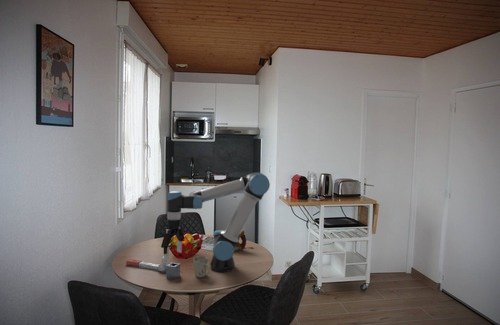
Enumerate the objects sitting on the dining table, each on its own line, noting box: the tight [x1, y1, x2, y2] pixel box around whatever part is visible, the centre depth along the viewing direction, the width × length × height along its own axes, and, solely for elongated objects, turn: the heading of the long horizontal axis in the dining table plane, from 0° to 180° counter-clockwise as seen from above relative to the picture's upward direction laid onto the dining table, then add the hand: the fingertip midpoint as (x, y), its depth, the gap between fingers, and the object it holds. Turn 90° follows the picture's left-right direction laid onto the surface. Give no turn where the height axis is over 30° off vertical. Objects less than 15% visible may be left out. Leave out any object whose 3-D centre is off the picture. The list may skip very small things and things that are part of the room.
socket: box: [165, 261, 181, 280], centre depth 181 cm, size 6×6×7 cm
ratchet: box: [125, 256, 169, 274], centre depth 194 cm, size 30×7×8 cm, turn 71°
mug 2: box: [234, 230, 247, 253], centre depth 231 cm, size 11×16×15 cm, turn 72°
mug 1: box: [192, 255, 211, 278], centre depth 183 cm, size 8×13×10 cm, turn 51°
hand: (172, 255), depth 181 cm, fingers open, 13 cm apart
